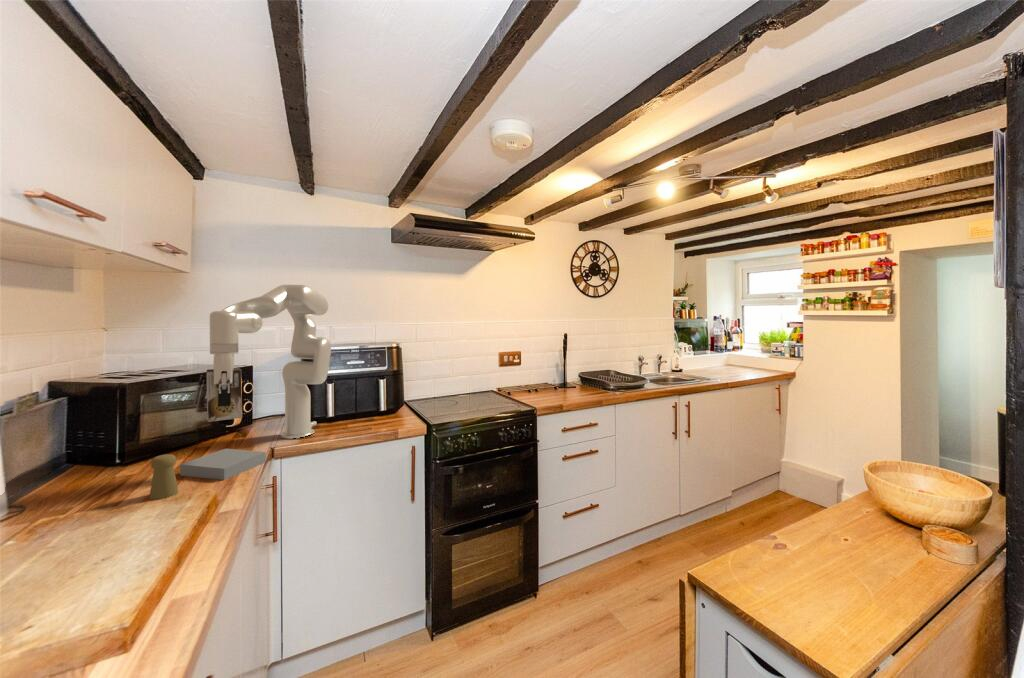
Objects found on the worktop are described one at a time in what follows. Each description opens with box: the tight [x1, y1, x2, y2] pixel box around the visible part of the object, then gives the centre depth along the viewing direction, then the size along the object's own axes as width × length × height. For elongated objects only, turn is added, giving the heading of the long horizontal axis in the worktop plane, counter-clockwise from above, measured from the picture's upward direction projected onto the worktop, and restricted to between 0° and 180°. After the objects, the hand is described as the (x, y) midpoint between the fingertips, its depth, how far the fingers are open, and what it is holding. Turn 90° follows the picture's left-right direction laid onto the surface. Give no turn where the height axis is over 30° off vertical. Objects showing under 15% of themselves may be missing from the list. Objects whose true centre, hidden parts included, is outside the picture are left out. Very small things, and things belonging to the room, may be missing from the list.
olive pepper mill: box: [149, 453, 179, 500], centre depth 108 cm, size 6×6×11 cm
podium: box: [179, 448, 267, 481], centre depth 128 cm, size 16×16×4 cm
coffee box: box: [206, 367, 243, 423], centre depth 128 cm, size 9×6×16 cm
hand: (224, 403), depth 128 cm, fingers closed on coffee box, 6 cm apart
